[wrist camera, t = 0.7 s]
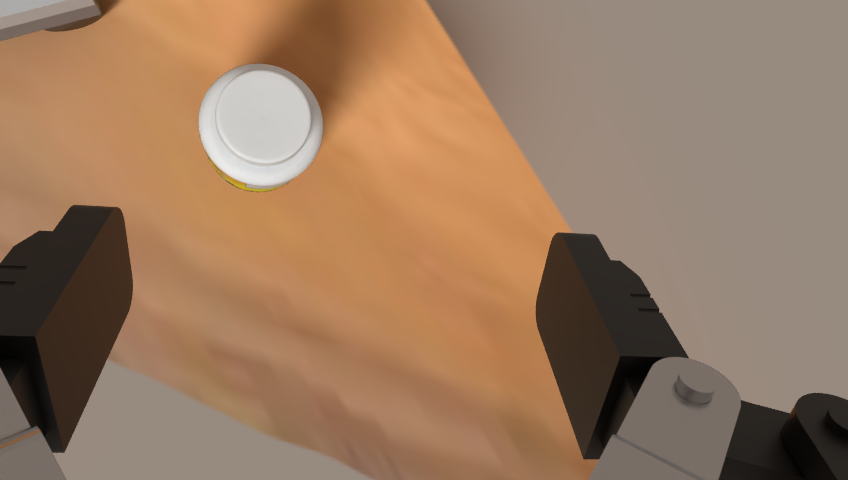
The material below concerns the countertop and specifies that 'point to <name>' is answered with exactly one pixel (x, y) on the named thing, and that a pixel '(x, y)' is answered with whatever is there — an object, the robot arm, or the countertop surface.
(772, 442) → the robot arm
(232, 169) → the supplement bottle
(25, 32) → the square grey tray
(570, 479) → the countertop surface
